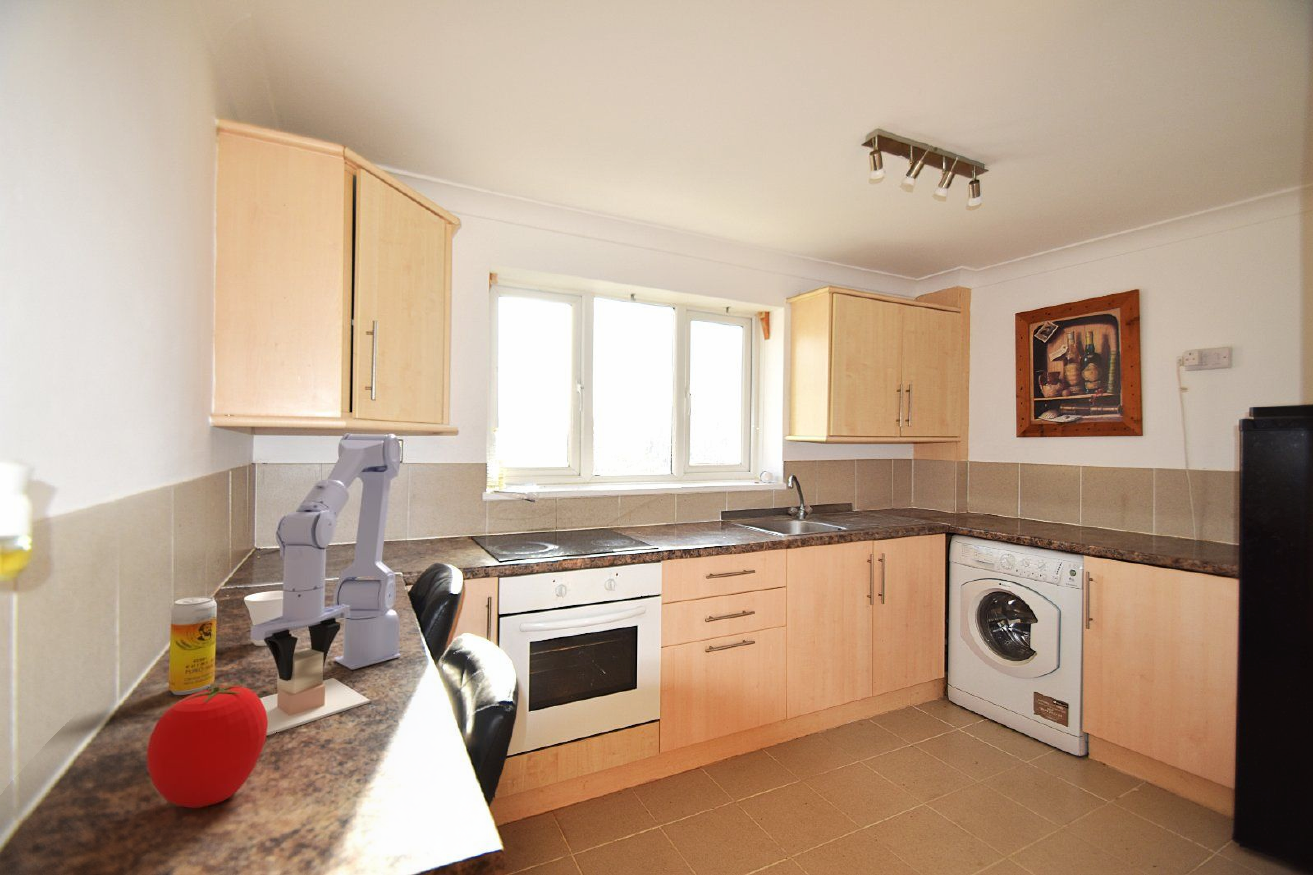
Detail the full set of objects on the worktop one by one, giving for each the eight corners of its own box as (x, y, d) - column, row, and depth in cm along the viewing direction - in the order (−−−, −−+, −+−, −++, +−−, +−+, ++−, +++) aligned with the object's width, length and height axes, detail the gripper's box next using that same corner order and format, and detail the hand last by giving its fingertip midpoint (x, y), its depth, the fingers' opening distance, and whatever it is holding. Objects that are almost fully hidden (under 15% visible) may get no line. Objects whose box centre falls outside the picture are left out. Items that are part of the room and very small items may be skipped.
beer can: (188, 697, 95) (191, 605, 95) (158, 694, 96) (161, 603, 97) (223, 683, 101) (226, 596, 101) (194, 680, 102) (197, 594, 103)
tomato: (168, 843, 60) (172, 718, 61) (130, 807, 66) (134, 694, 66) (285, 790, 70) (288, 682, 70) (242, 763, 76) (245, 664, 76)
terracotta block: (311, 696, 95) (312, 678, 95) (324, 705, 92) (325, 686, 92) (277, 706, 91) (277, 687, 91) (289, 716, 88) (289, 696, 88)
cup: (302, 639, 125) (304, 592, 125) (254, 651, 117) (255, 601, 117) (282, 632, 129) (283, 587, 130) (234, 643, 122) (235, 595, 122)
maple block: (305, 678, 95) (306, 647, 95) (322, 684, 93) (323, 652, 93) (276, 688, 91) (277, 656, 91) (293, 694, 89) (294, 661, 89)
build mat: (333, 680, 103) (333, 678, 103) (369, 702, 94) (369, 700, 94) (224, 710, 91) (224, 708, 91) (254, 739, 82) (254, 736, 82)
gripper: (332, 576, 100) (330, 655, 100) (240, 593, 88) (237, 684, 87) (358, 580, 97) (356, 662, 97) (266, 599, 84) (264, 694, 84)
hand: (301, 673), depth 92 cm, fingers closed on maple block, 4 cm apart
